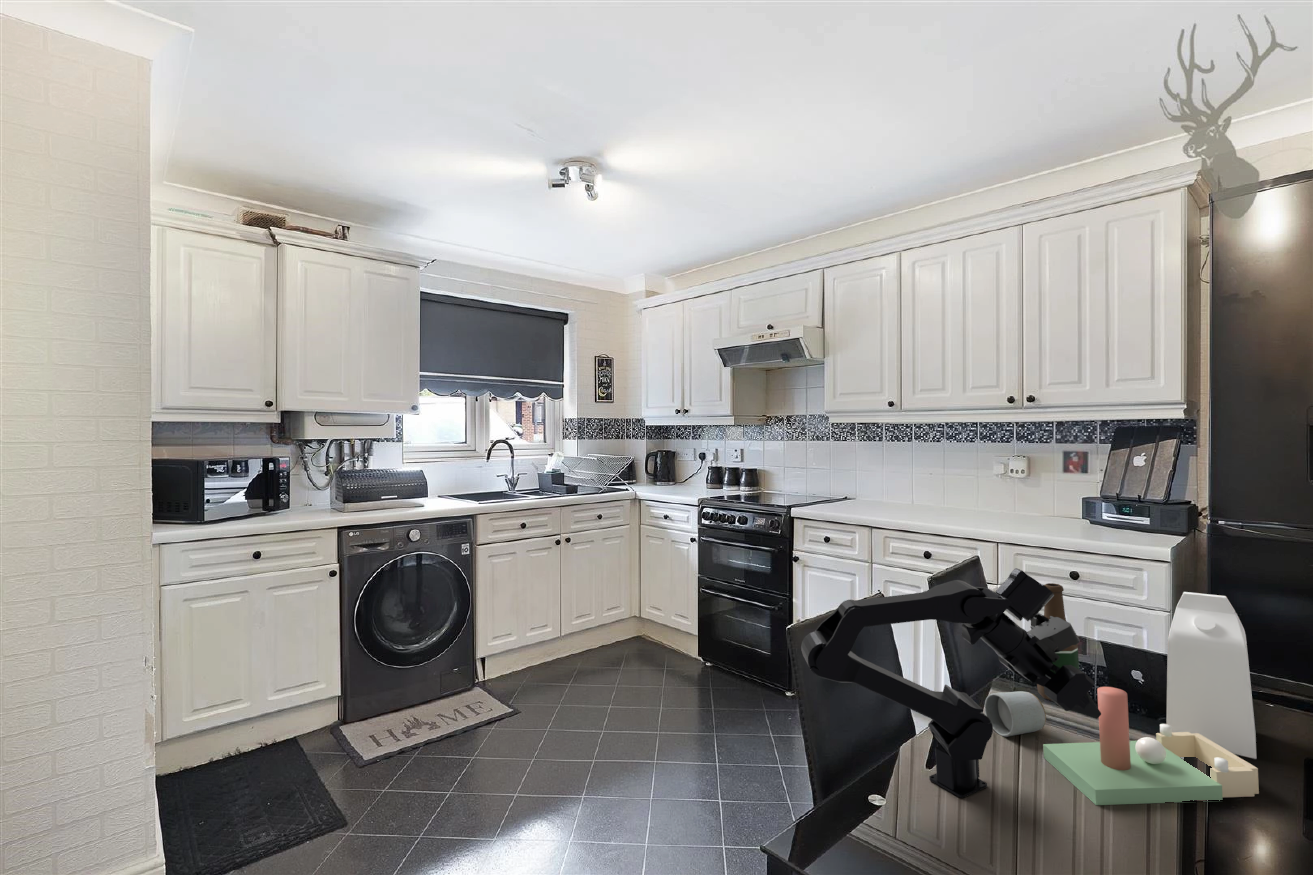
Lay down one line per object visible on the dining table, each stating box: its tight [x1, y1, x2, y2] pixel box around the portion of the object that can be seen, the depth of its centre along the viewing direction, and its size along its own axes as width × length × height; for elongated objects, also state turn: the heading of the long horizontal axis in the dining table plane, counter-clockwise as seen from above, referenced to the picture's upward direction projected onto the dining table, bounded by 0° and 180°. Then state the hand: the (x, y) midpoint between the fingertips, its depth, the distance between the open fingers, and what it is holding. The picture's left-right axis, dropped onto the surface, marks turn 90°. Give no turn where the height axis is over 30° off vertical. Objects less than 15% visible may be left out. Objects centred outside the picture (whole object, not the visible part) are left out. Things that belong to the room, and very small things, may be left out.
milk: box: [1165, 591, 1257, 760], centre depth 115 cm, size 12×12×26 cm
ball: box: [1135, 736, 1166, 764], centre depth 104 cm, size 4×4×4 cm
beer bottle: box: [1036, 582, 1080, 702], centre depth 134 cm, size 8×8×24 cm
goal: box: [1155, 723, 1260, 798], centre depth 103 cm, size 7×13×6 cm, turn 178°
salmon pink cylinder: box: [1096, 686, 1131, 770], centre depth 104 cm, size 4×4×12 cm
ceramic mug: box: [984, 690, 1047, 737], centre depth 122 cm, size 11×8×8 cm
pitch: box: [1042, 740, 1224, 806], centre depth 104 cm, size 19×14×2 cm
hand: (1080, 703), depth 104 cm, fingers open, 9 cm apart
